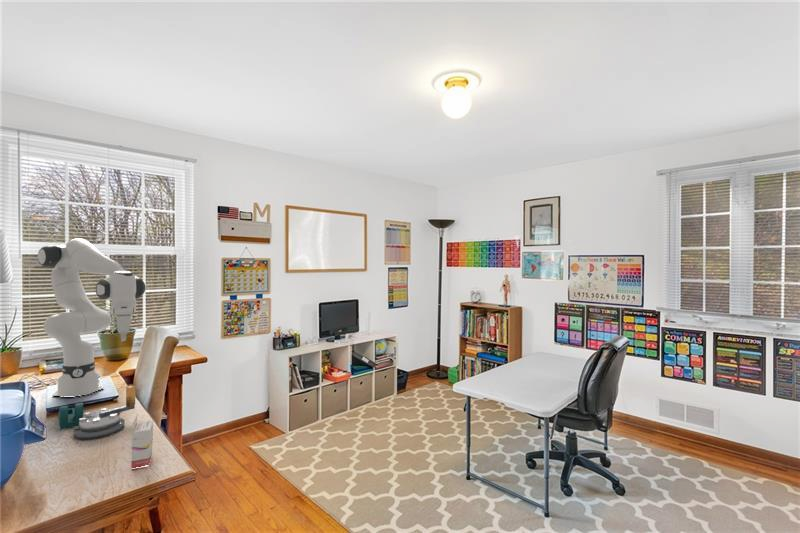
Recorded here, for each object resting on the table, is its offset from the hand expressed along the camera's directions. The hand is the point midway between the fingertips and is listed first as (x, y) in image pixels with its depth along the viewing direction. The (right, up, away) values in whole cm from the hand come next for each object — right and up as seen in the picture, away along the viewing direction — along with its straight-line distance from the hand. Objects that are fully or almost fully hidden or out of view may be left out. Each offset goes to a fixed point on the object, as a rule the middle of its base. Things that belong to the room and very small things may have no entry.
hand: (123, 340), depth 166 cm
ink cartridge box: (+38, -31, -44) cm, 65 cm away
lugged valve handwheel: (+9, -27, -20) cm, 35 cm away
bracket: (-12, -30, -13) cm, 34 cm away
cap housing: (+7, -30, -22) cm, 38 cm away
